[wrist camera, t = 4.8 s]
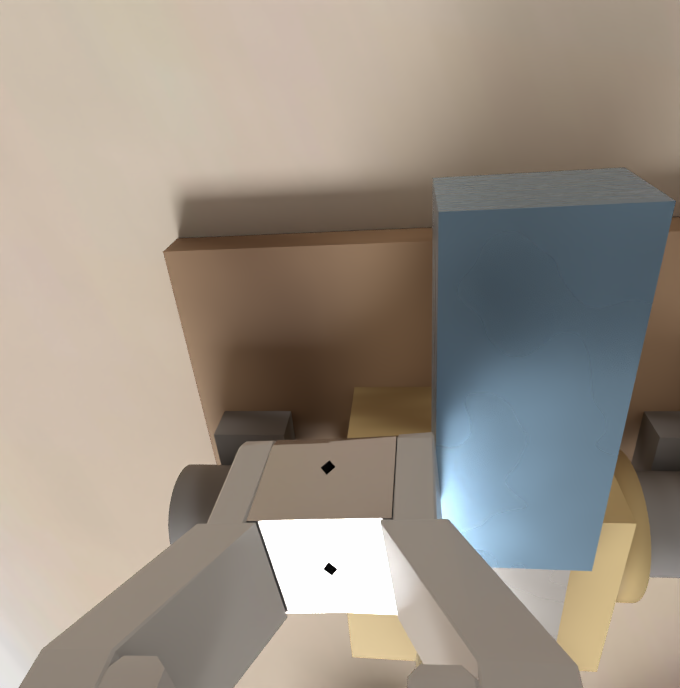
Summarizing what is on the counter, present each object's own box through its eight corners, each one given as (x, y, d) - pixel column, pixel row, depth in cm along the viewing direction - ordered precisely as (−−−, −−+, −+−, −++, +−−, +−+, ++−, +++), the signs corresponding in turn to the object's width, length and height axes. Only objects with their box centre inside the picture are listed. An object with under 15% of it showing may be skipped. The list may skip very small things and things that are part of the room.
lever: (545, 704, 14) (561, 780, 12) (416, 695, 14) (417, 768, 13) (653, 165, 7) (710, 198, 6) (406, 180, 8) (407, 213, 6)
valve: (240, 506, 24) (169, 711, 16) (177, 238, 18) (24, 380, 11) (690, 517, 21) (831, 762, 14) (792, 212, 15) (1123, 372, 8)
